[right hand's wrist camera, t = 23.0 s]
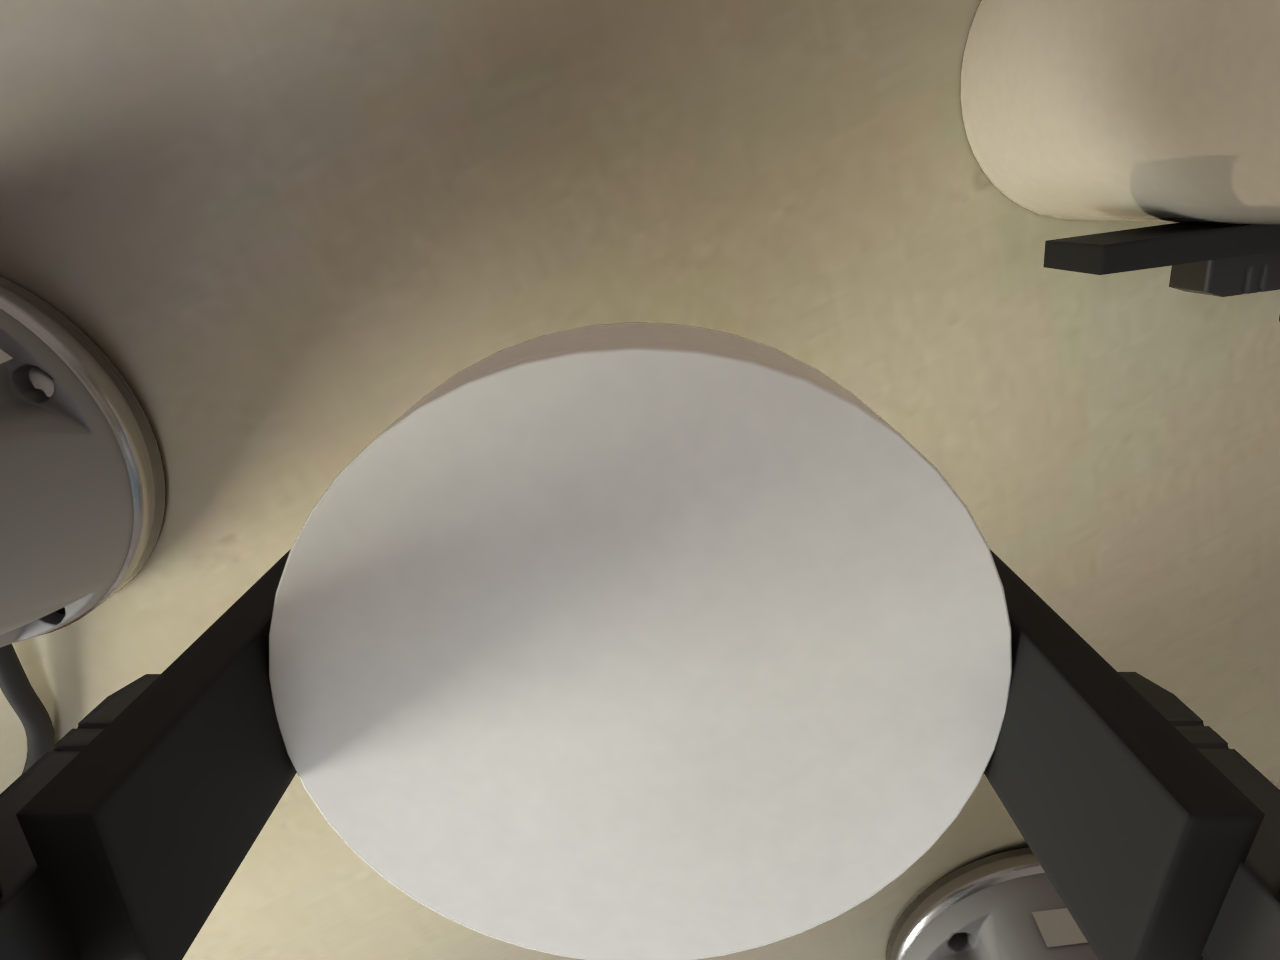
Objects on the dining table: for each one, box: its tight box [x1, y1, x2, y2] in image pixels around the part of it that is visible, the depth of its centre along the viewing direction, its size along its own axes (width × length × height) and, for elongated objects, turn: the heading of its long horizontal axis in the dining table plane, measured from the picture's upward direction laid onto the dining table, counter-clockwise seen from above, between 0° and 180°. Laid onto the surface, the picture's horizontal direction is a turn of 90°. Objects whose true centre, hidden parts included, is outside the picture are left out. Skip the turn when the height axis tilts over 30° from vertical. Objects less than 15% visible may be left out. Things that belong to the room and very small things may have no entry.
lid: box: [269, 322, 1012, 960], centre depth 11 cm, size 11×11×2 cm
